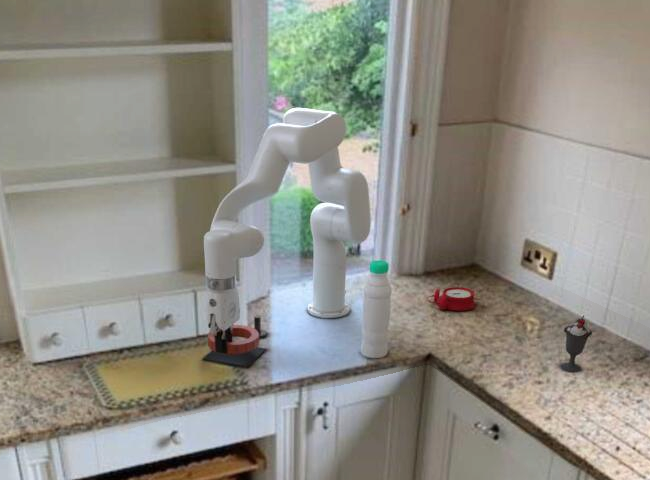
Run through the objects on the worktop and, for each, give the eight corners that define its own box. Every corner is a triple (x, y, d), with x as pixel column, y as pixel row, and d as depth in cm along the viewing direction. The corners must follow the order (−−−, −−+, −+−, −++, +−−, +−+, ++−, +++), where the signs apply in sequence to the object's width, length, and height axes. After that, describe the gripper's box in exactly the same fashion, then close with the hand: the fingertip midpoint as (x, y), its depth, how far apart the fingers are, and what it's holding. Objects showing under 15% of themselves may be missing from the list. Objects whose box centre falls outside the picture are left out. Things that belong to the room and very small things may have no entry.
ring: (222, 330, 219) (222, 321, 218) (267, 338, 214) (267, 329, 213) (199, 349, 209) (198, 340, 207) (245, 357, 204) (245, 348, 202)
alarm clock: (484, 299, 236) (436, 290, 233) (477, 318, 239) (430, 310, 236) (474, 286, 245) (428, 278, 242) (467, 305, 248) (422, 297, 245)
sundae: (571, 375, 200) (582, 319, 192) (551, 365, 205) (561, 310, 198) (590, 370, 203) (602, 314, 195) (570, 360, 208) (581, 305, 200)
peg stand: (253, 330, 227) (253, 312, 225) (269, 333, 226) (269, 314, 223) (245, 336, 224) (245, 318, 221) (262, 339, 222) (261, 321, 219)
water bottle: (386, 360, 209) (392, 267, 196) (359, 358, 211) (363, 266, 198) (388, 349, 215) (394, 258, 202) (362, 347, 216) (366, 257, 203)
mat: (223, 342, 220) (223, 341, 220) (266, 350, 216) (266, 348, 215) (202, 359, 211) (202, 358, 211) (247, 368, 206) (247, 366, 206)
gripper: (219, 294, 190) (222, 364, 199) (248, 273, 202) (250, 341, 212) (192, 290, 192) (196, 359, 202) (222, 270, 205) (225, 336, 214)
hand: (224, 349), depth 207 cm, fingers closed on ring, 2 cm apart
